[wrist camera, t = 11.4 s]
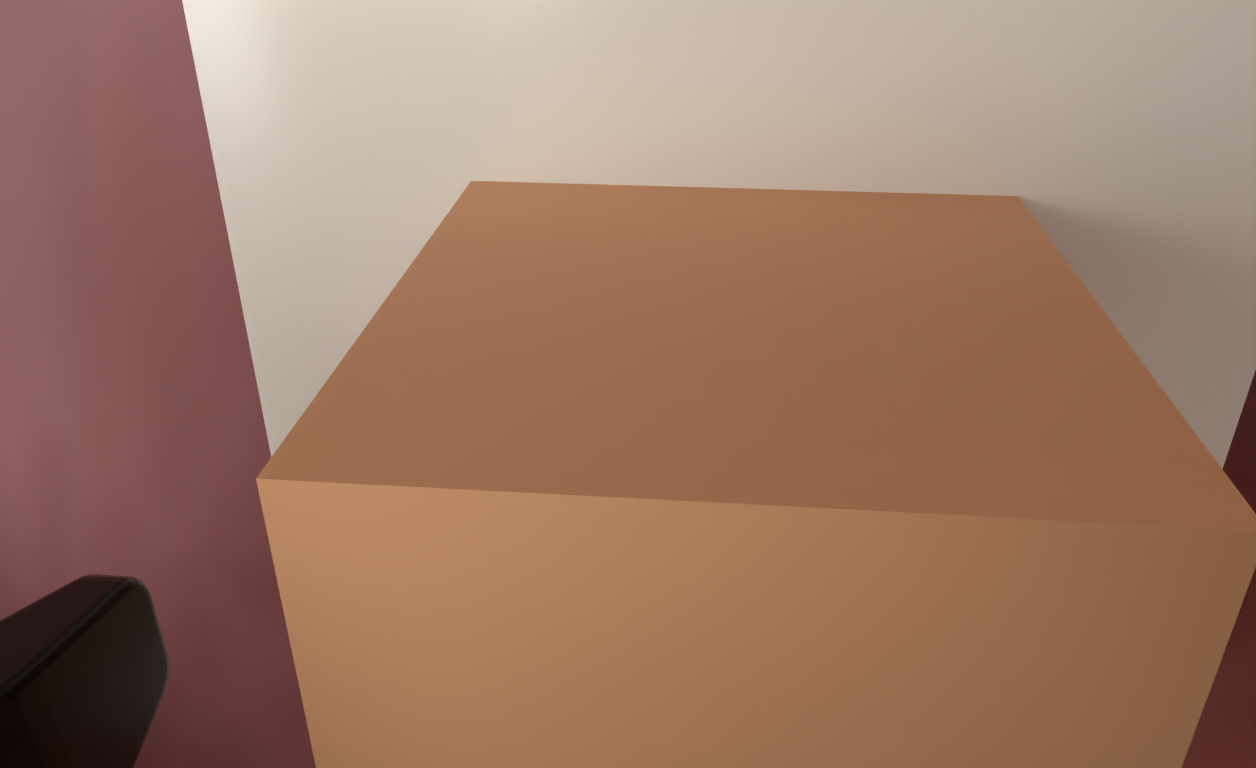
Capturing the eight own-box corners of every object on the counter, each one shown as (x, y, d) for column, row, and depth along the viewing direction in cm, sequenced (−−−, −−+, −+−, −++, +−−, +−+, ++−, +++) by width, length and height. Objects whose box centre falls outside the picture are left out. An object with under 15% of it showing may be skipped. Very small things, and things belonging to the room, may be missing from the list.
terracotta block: (502, 594, 12) (371, 1034, 8) (471, 180, 10) (256, 476, 5) (936, 621, 12) (1058, 1100, 7) (1017, 196, 9) (1268, 532, 5)
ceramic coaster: (349, 676, 14) (324, 732, 13) (211, -125, 10) (159, -119, 9) (1091, 727, 14) (1115, 789, 13) (1347, -117, 9) (1414, -109, 8)
